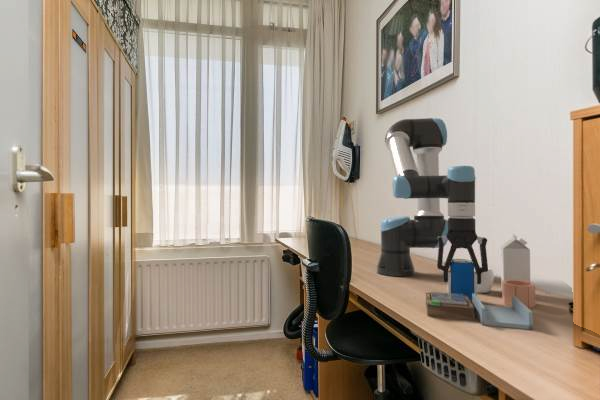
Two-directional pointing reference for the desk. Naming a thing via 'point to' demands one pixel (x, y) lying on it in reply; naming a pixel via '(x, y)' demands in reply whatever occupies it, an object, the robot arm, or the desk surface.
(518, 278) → the milk carton
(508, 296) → the cup
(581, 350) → the desk surface
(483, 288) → the mug
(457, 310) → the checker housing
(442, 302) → the grey flat square plate
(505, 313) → the trough
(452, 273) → the beverage can
